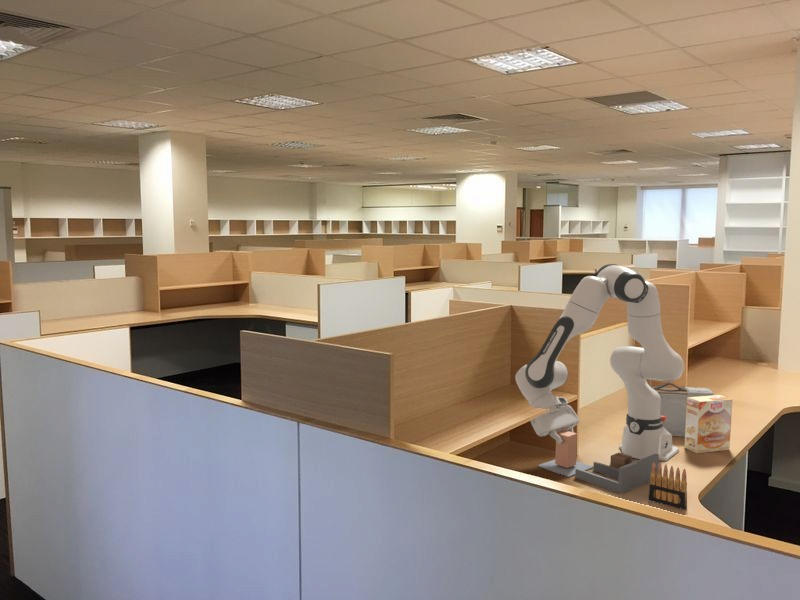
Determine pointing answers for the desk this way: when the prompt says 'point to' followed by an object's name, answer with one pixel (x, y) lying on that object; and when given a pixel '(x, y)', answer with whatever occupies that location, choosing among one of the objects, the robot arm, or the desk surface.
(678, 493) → the ammunition clip
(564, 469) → the slate mat
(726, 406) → the coffeecake box
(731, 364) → the desk surface
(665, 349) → the robot arm
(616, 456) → the walnut block
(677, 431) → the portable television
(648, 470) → the lane rack
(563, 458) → the terracotta block
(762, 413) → the desk surface
